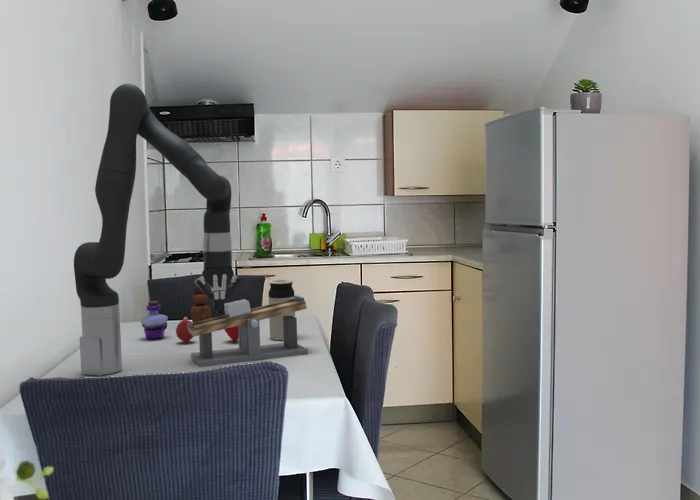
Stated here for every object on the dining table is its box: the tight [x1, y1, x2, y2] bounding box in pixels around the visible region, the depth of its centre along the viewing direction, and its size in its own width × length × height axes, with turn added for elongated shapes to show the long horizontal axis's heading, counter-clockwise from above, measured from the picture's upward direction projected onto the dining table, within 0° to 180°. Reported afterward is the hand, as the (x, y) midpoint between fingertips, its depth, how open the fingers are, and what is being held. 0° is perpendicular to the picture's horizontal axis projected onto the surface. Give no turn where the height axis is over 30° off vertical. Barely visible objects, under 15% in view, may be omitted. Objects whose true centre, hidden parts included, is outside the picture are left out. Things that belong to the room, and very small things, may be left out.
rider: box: [224, 298, 252, 319], centre depth 186 cm, size 6×5×4 cm
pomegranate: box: [175, 316, 195, 344], centre depth 207 cm, size 6×6×8 cm
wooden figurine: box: [190, 282, 212, 323], centre depth 235 cm, size 7×6×15 cm
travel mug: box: [268, 279, 296, 342], centre depth 210 cm, size 8×8×18 cm
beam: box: [187, 295, 307, 337], centre depth 187 cm, size 32×8×3 cm, turn 113°
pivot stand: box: [190, 316, 309, 367], centre depth 187 cm, size 30×14×11 cm, turn 113°
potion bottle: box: [139, 300, 169, 341], centre depth 215 cm, size 9×9×12 cm
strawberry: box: [223, 326, 239, 343], centre depth 206 cm, size 6×8×10 cm
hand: (219, 312), depth 184 cm, fingers closed
